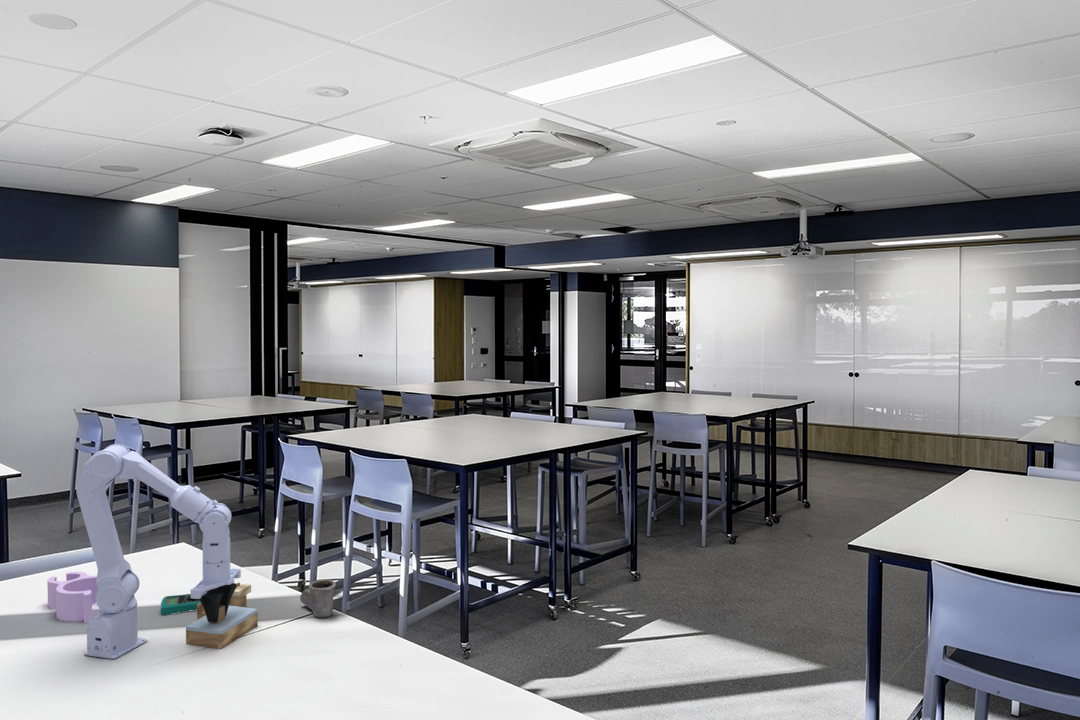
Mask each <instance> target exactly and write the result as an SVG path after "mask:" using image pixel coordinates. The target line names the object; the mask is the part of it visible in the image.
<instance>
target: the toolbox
mask: <svg viewBox="0 0 1080 720" xmlns="http://www.w3.org/2000/svg"><path fill="white" fill-rule="evenodd" d="M236 584H237V587H238V586H240V585H241V582H236ZM247 602H248V601H247V595H245V596H243V597H241V598H240V599H233V598H231V600H230V603H229V606H237V607H246V608H248V607H247ZM204 616H206V613H205V610H204V608H203V606H202V604H201V603H199V604H197V611H196V621H197V620H198V619H200V618H202V617H204ZM258 616H259V615H258V612H257V613H255V614H254V615H252V616H251V617H249V618H247V619H246V620H244V621H243V622H241V623H239V624H238V625H236V626H234V627H233V628H231V629H230V630H228V631H226V632H225V633H223V634H221V635H220V634H213V633H205V632H197V631H189V630H186V629H185V644H186V645H188V646H196V647H204V648H212V649H217V650H218V649H220V650H222V649H223V648H225V647H227V646H228V645H230V644H232V643H233V642H234V641H236V640H238V639H239V638H241V637H242V636H244V635H245V634H247V633H249V632H250V631H251V630H253V629H255V628H256V627H257V626H258V623H259V622H258Z"/></svg>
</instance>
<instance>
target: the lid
mask: <svg viewBox="0 0 1080 720" xmlns="http://www.w3.org/2000/svg"><path fill="white" fill-rule="evenodd" d="M257 612H258V608H252V607H247V608H246V607H237V606H229V607H228V611H227V615H226V617H225V605H219V617H218V621H217V622H216V623H214V622H208V620H207V617H206V616H204V617H202V618H200V619H198V620H197V619H196V620H195V621H193V622H191V623H190V624H189V625H186V626H185V631H186V630H189V631H197V632H205V633H213V634H220V635H221V634H223V633H225V632H226V631H228V630H230V629H231V628H233V627H234V626H236V625H238V624H239V623H241V622H243V621H244V620H246V619H247V618H249V617H251V616H252V615H254V614H255V613H257Z"/></svg>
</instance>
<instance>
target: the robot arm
mask: <svg viewBox="0 0 1080 720" xmlns="http://www.w3.org/2000/svg"><path fill="white" fill-rule="evenodd" d="M119 475H120V477H119V480H135V479H136V480H138V481H140V482H142V483H144V484H145V485H147V486H148V487H150V488H151V489H154V490H155V491H157V492H159V493H160V494H162V495H164V496H166V498H168V499H169V501H170V506H171V508H173V509H175V510H176V511H177V512H179V513H180V514H182V515H183V516H185V517H186V518H188V519H189V520H191V521H192V522H193V523H196V524H199V529H200V530H201V532H202V538H203V539H202V579H201V580H200V581H199V582H198V583H197V584H196V585H195V587H193V588H191V589H190V594H191V598H193V599H199V600H200V602H201V604H202V606H203V608H204V610H205V613H206V617H207V620H208V622H214V623H216V622H217V621H218V617H219V605H225V617H226V615H227V611H228V607H229V603H230V600H231V597H232V595H233V593H234V591H235V589H236V588H237V582H236V583H235V579H239V578H241V577H242V571H241V570H242V569H241V568H231V536H230V535H231V534H230V533H231V532H230V526H229V525H230V523H231V521H232V511H231V510H230V508H229V507H228V506H227V505H226V503H225V504H224V503H221V502H219V501H217V500H216V499H213V500H212V499H211V498H210V497H208V496H206V495H205V494H204V493H202V492H201V487H198V485H197V486H196V485H195V486H194V487H193V486H192V485H190V484H187V485H180V484H179V483H177V482H176V481H175V480H173V479H172V478H170V477H169V476H168V475H166V473H164V472H162V471H161V470H160V469H158V468H157V467H156V466H154V465H153V464H152V463H151V462H149V461H147V460H146V459H145V457H143V456H142V455H140V454H139V452H136V451H134V450H131V449H130V448H129V447H127V446H126V445H124V444H121V443H114V444H110V445H108V446H107V447H105V448H104V449H102V450H100V451H97V452H94V453H93V454H92V455H91V456H90V457H89V458H88V460H87V461H86V462H84V464H83V470H82V472H81V476H80V478H79V481H78V484H77V487H76V492H75V493H76V496H77V500H78V504H79V507H80V510H81V514H82V518H83V521H84V526H85V528H86V532H87V536H88V538H89V542H90V547H91V549H92V552H93V556H94V559H95V564H96V567H97V575H96V576H97V579H96V584H97V589H98V591H97V595H96V603H97V604H96V605H97V607H98V611H97V614H96V615H95V616H93V617H92V619H91V620H90V621H89V623H87V626H86V651H84V652H83V655H84V656H90V657H97V658H102V659H103V658H104V659H112V660H115V659H118V658H119V657H122V656H123V655H125V654H126V653H128V652H130V651H132V650H134V649H135V648H137V647H140V646H141V645H143V644H145V643H146V642H147V641H148V638H144V637H139V636H138V635H139V633H138V631H139V629H138V600H137V599H136V596H135V594H136V593H137V592H138V590H139V587H140V579H139V577H138V575H137V574H136V572H134V571H133V570H132V567H131V564H130V563H129V561H127V560H126V559H125V557H124V554H123V549H122V545H121V543H120V539H119V535H118V531H117V528H116V524H115V521H114V517H113V513H112V511H111V507H110V503H109V499H108V495H107V490H108V489H109V487H110V486H111V485H112V483H113V482H114V481H115V479H116V478H117V477H118V476H119Z"/></svg>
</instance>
